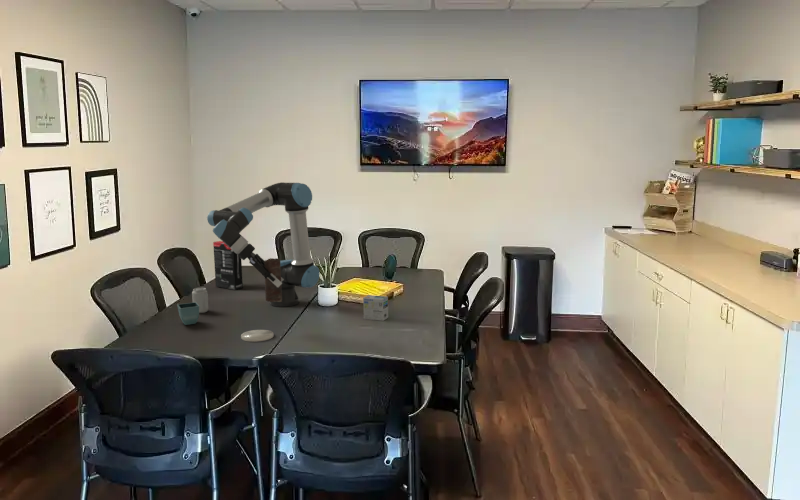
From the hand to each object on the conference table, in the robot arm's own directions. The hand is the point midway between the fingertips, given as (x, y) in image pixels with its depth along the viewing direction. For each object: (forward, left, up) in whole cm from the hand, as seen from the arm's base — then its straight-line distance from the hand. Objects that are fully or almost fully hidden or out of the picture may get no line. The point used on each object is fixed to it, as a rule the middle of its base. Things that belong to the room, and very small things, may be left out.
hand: (280, 283), depth 295 cm
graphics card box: (-8, -99, -22) cm, 102 cm away
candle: (+3, -2, -9) cm, 9 cm away
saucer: (+14, +5, -22) cm, 26 cm away
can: (+22, -53, -22) cm, 62 cm away
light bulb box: (-45, +8, -22) cm, 51 cm away
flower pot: (+33, -34, -22) cm, 52 cm away
